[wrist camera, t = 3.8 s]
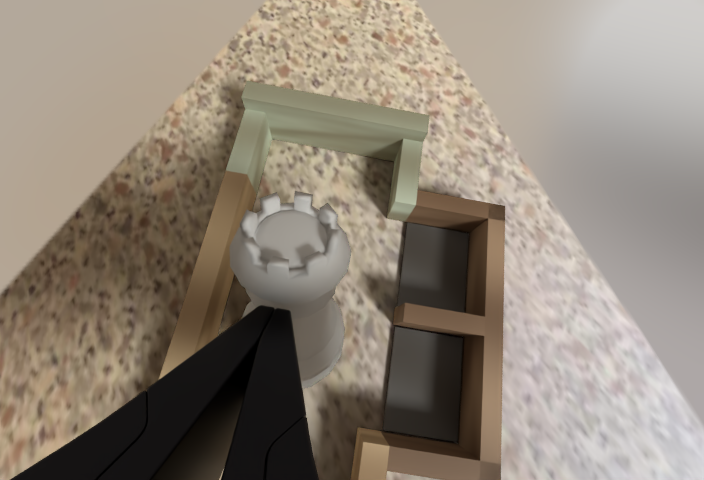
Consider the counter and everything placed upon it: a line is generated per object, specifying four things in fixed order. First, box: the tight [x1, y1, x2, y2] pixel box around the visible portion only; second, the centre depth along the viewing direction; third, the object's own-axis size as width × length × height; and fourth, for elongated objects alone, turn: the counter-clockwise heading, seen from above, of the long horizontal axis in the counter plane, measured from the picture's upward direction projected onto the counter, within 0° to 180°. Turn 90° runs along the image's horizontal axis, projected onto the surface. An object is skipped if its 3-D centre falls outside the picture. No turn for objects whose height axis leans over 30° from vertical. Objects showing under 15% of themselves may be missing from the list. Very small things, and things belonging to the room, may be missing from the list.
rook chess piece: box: [230, 191, 351, 389], centre depth 11 cm, size 4×4×8 cm
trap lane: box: [159, 81, 505, 480], centre depth 15 cm, size 18×13×3 cm
